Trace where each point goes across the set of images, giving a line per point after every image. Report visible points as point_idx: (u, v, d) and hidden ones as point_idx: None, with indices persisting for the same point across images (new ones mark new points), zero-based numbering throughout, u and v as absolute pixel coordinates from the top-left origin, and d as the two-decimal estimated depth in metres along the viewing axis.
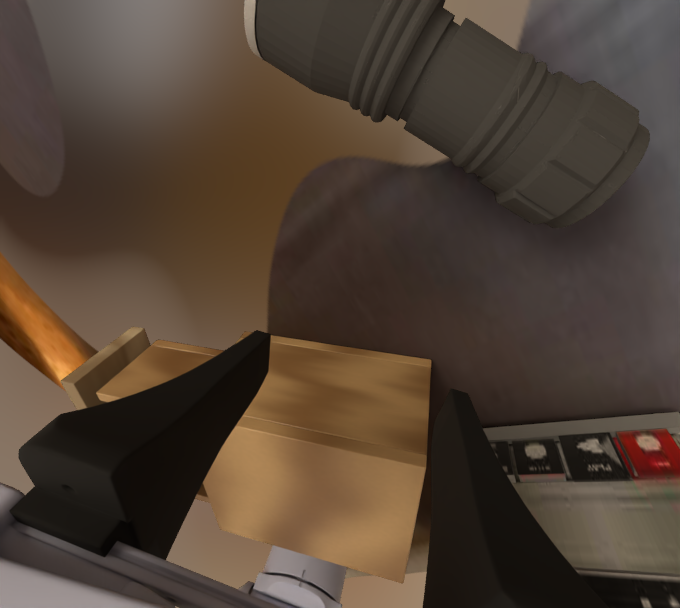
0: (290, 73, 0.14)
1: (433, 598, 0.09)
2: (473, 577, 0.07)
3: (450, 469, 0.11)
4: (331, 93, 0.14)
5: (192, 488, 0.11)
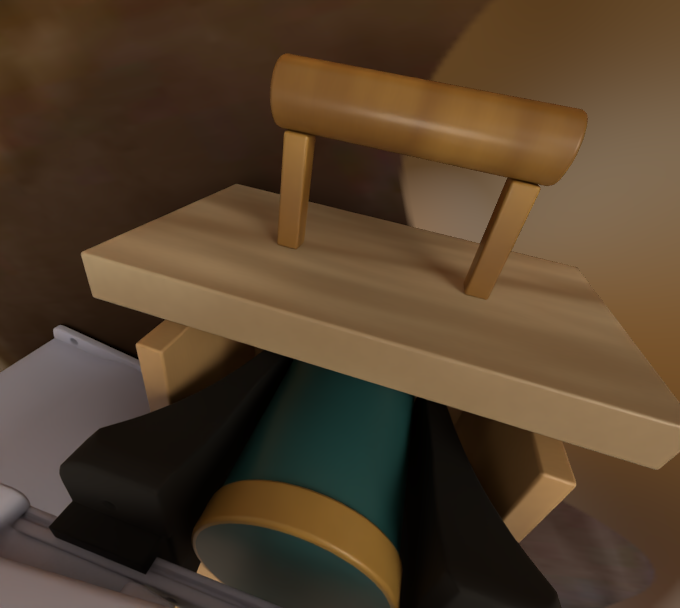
0: None
1: None
2: (426, 560, 0.07)
3: (418, 458, 0.11)
4: None
5: None
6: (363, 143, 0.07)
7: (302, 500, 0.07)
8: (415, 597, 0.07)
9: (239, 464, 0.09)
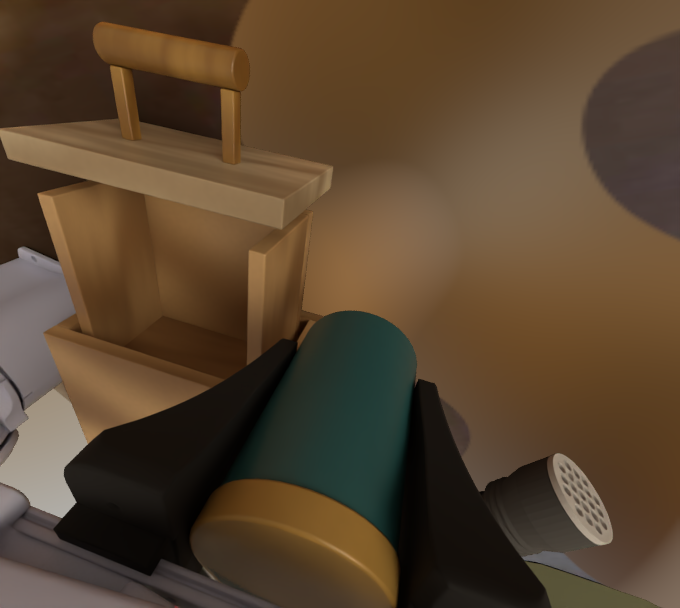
0: (534, 498, 0.23)
1: None
2: (417, 557, 0.07)
3: (412, 456, 0.11)
4: (512, 505, 0.24)
5: None
6: (147, 70, 0.14)
7: (300, 500, 0.07)
8: (406, 594, 0.07)
9: (237, 463, 0.09)
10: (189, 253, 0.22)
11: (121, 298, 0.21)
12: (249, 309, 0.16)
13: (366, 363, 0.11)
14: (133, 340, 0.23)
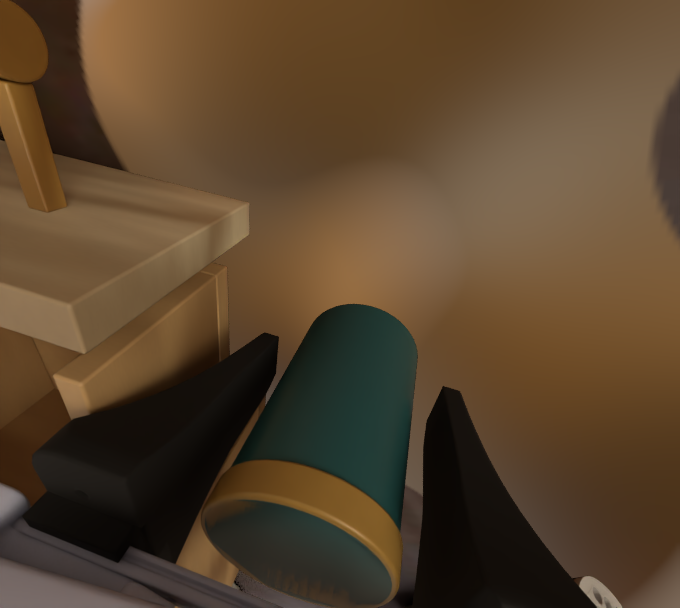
0: None
1: (422, 593, 0.09)
2: (459, 572, 0.07)
3: (441, 466, 0.11)
4: None
5: (202, 492, 0.10)
6: None
7: (307, 478, 0.07)
8: None
9: (246, 447, 0.09)
10: None
11: None
12: None
13: (369, 353, 0.11)
14: None
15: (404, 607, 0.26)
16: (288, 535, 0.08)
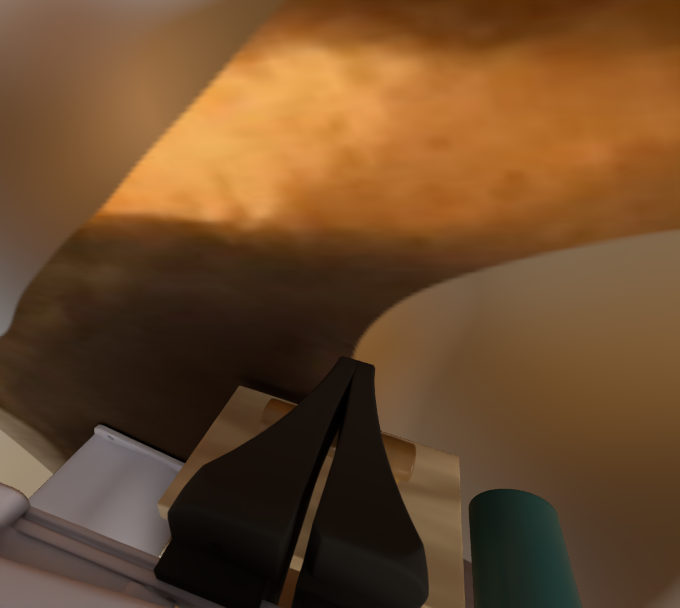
0: None
1: None
2: None
3: (340, 433, 0.11)
4: None
5: (300, 528, 0.10)
6: None
7: None
8: None
9: None
10: None
11: None
12: None
13: (549, 549, 0.17)
14: None
15: None
16: None
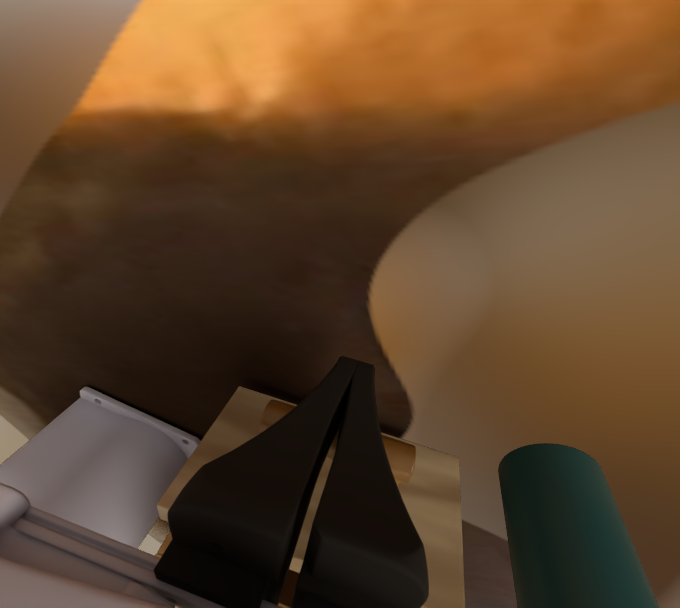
0: None
1: None
2: None
3: (340, 433, 0.11)
4: None
5: (300, 528, 0.10)
6: None
7: None
8: None
9: (553, 602, 0.12)
10: None
11: None
12: None
13: (601, 506, 0.14)
14: None
15: None
16: None
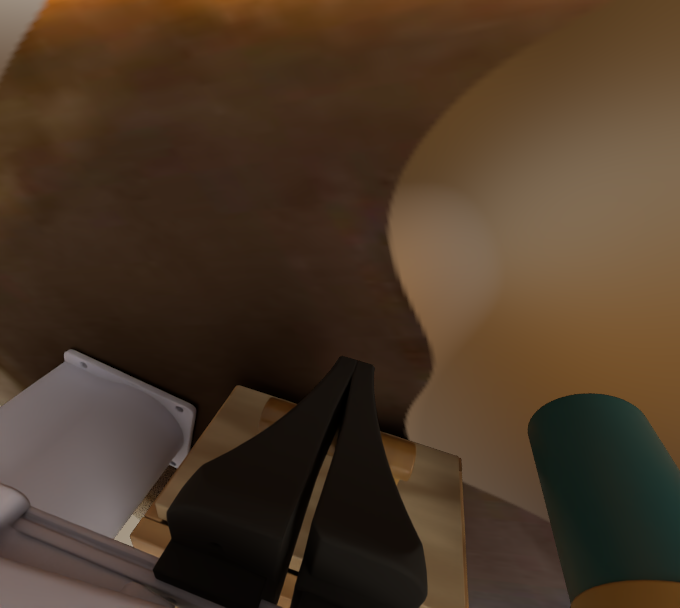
0: None
1: None
2: None
3: (340, 433, 0.11)
4: None
5: (300, 528, 0.10)
6: None
7: None
8: None
9: (613, 558, 0.10)
10: None
11: None
12: None
13: (658, 455, 0.13)
14: None
15: None
16: None
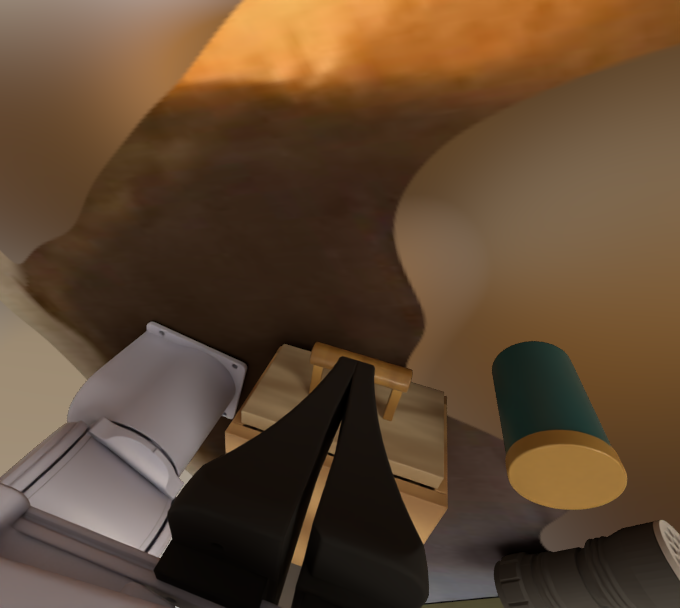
0: (646, 567, 0.25)
1: None
2: None
3: (340, 433, 0.11)
4: (620, 570, 0.26)
5: (300, 528, 0.10)
6: None
7: (586, 437, 0.16)
8: None
9: (528, 425, 0.17)
10: None
11: None
12: None
13: (566, 374, 0.20)
14: None
15: (506, 556, 0.34)
16: (571, 465, 0.16)
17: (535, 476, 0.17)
